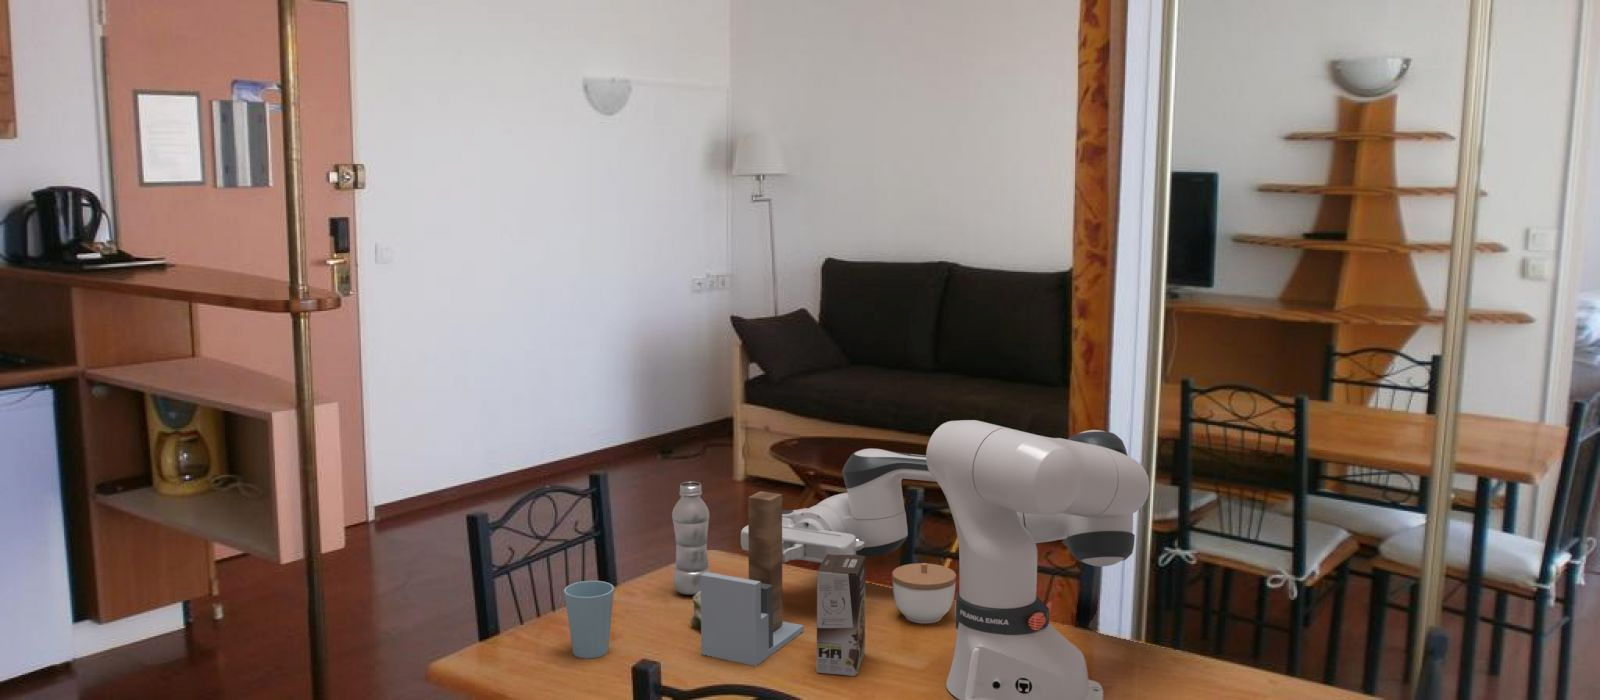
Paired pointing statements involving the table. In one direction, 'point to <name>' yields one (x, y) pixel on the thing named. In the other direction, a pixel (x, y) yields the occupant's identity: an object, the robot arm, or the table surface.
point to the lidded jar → (923, 591)
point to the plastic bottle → (690, 539)
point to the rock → (697, 611)
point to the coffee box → (840, 614)
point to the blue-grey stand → (740, 620)
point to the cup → (589, 617)
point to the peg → (766, 545)
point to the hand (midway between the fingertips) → (777, 556)
